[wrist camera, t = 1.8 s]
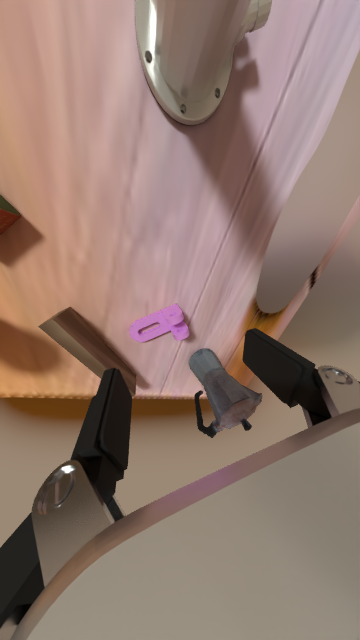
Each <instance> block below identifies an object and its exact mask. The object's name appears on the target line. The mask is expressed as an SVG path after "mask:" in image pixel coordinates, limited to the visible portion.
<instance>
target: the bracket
mask: <svg viewBox="0 0 360 640" xmlns="http://www.w3.org/2000/svg"><path fill="white" fill-rule="evenodd" d="M183 319H184V316H183V313H182V311H181V309H180V308H179V307H178V305H177V304H174V305H171V306H169V307H167V308H164V309H162V310H160V311H157V312H155V313H153V314H150V315H148V316H146V317H143V318H141V319H139V320H136V321H135V322H133V323H132V324H131V326H130V336H131V338H132V339H133V340H135V341H138V342H145V341H148V340H150V339H152V338H154V337H157V336H159V335H161V334H163V333H166V332H168V331H172V334H173V336H174V338H175V339H176V340H183V339H185V338H187V337H188V336H189V334H190V332H189V329H188V327H187V325H186V324H185V322H184V320H183ZM155 322H158V323H160V324H159V326H157V327H155V328H153V329H151V330H148V331H146V332H144V333H140V332H139V331H138V330H139V329H141V328H144V327H146V326H148V325H151V324H153V323H155Z"/></svg>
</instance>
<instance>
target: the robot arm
mask: <svg viewBox="0 0 360 640" xmlns="http://www.w3.org/2000/svg"><path fill="white" fill-rule="evenodd" d="M271 3H272V0H135V26H136V39H137V45H138V51H139V56H140V60H141V64H142V67H143V71H144V74H145V76H146V79H147V81H148V84H149V86H150V89H151V90H152V92H153V94H154V96H155V98H156V100H157V101H158V102H159V104H160V105H161V107H162V108H163V109H164V110H165V111H166V112H167V113H168V114H169V115H170V116H171V117H172V118H173V119H175V120H176V121H178V122H180V123H183V124H186V125H197V124H200V123H202V122H204V121H205V120H207V119H208V118H209V117H210V116H211V115H212V114H213V113H214V112H215V110H216V108H217V107H218V105H219V104H220V101H221V99H222V97H223V95H224V93H225V91H226V88H227V85H228V82H229V78H230V73H231V68H232V60H233V51H234V48H235V46H236V44H237V43H239V42H241V41H242V39H243V38H244V35H245V33H247V32H253V31H255V30H257V29H259V28H262V27H263V26H264V25H265V24H266V22H267V20H268V16H269V13H270V9H271ZM243 362H244V363H245V364H246V365H247V366H248V367H249V368H250V369H251V371H252V372H253V373H254V374H255V375H256V376H258V377H259V379H260V380H261V381H262V382H263V383H264V384H265V385H266V386H267V387H268V388H269V389H270V390H271V391H272V392H273V393H274V394H275V395H276V396H277V397H278V398H279V399H280V400H281V401H282V402H283V403H286V404H287V405H288V406H289V407H290V408H291V407H294V406H296V405H298V404H300V405H301V406H302V409H303V412H304V415H305V419H306V422H307V425H308V429H306V430H304V431H301V432H299V433H297V434H295V435H293V436H291V437H288V438H286V439H284V440H282V441H280V442H278V443H276V444H273V445H271V446H269V447H267V448H265V449H263V450H261V451H259V452H256V453H254V454H252V455H250V456H248V457H246V458H243V459H241V460H239V461H237V462H235V463H233V464H231V465H228V466H227V467H224V468H222V469H220V470H218V471H216V472H214V473H212V474H210V475H207V476H206V477H203V478H201V479H199V480H197V481H195V482H193V483H191V484H189V485H186V486H184V487H182V488H180V489H178V490H176V491H174V492H172V493H170V494H168V495H166V496H164V497H162V498H160V499H158V500H156V501H154V502H152V503H150V504H148V505H146V506H144V507H142V508H140V509H138V510H136V511H134V512H132V513H130V514H129V515H127V516H126V514H125V513H124V511H123V510H122V508H121V506H120V504H119V503H118V501H117V499H116V497H115V496H114V493H115V488H116V481H119V480H121V479H123V477H124V470H126V469H127V466H128V454H129V439H130V423H131V408H132V396H131V393H130V391H129V389H128V387H127V385H126V383H125V380H124V378H123V376H122V374H121V372H120V370H119V369H116V368H111V369H107V370H105V371H104V373H103V376H102V379H101V382H100V385H99V388H98V391H97V394H96V396H94V397H93V398H92V400H91V403H90V405H89V408H88V411H87V414H86V417H85V420H84V423H83V425H82V428H81V431H80V434H79V437H78V440H77V443H76V445H75V448H74V451H73V454H72V457H71V460H69V461H66V462H64V463H63V464H61V465H60V466H58V467H57V468H56V469H55V470H54V471H53V472H52V473H51V474H50V475H49V476H48V477H47V479H46V480H45V481H44V483H43V484H42V486H41V487H40V489H39V491H38V493H37V495H36V497H35V499H34V503H33V506H32V512H31V513H30V514H29V515H28V517H27V518H26V519H25V520H24V521H23V522H22V524H21V525H20V526H19V527H18V528H17V529H16V530H15V532H14V533H13V534H12V535H11V536H10V537H9V538H8V540H7V541H6V542H5V543H4V544H3V545H2V547H1V548H0V640H360V382H359V381H357V380H356V379H355V378H354V377H353V376H352V375H351V374H349V373H348V372H345V371H344V370H342V369H339V368H337V367H333V366H326V365H325V366H320V367H318V370H317V369H315V368H314V367H315V364H314V363H312V362H310V361H309V360H307V359H306V358H304V357H302V356H301V355H299V354H297V353H296V352H294V351H293V350H291V349H289V348H287V347H286V346H284V345H283V344H281V343H279V342H278V341H276V340H275V339H273V338H271V337H270V336H268V335H266V334H265V333H263V332H261V331H260V330H258V329H256V328H254V329H250V330H248V331H247V333H246V334H245V342H244V351H243Z"/></svg>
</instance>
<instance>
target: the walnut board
mask: <svg viewBox="0 0 360 640" xmlns="http://www.w3.org/2000/svg"><path fill="white" fill-rule="evenodd" d="M38 327H39V328H41V329H42V330H43V331H44V332H45V333H47V334H48V335H49V336H50V337H51V338H53V339H54V340H55V341H56V342H57V343H59V344H60V345H61V346H62V347H63V348H65V349H66V350H67V351H68V352H69V353H71V354H72V355H73V356H74V357H75V358H77V359H78V360H79V361H80V362H81V363H83V364H84V365H85V366H86V367H88V368H89V369H90V370H91V371H92V372H94V373H95V374H96V375H97V376H98V377H100V378H101V379H102V376H103V373H104V371H105V370H107V369H111V368H116V369H119V370H120V372H121V374H122V376H123V378H124V380H125V383H126V385H127V387H128V389H129V391H130V393H131V396H134V395H135V392H136V375H135V374H134V373H133V372H132V371H131V370H130V369H129V368H128V367H127V366H126V365H125V364H124V363H123V362H122V360H121V359H120V358H119V357H118V356H117V355H116V354H115V353H114V352H113V351H112V350H111V349H110V348H109V347H108V346H107V345H106V344H105V343H104V342H103V341H102V340H101V338H100V337H99V336H98V335H97V334H96V333H95V332H94V331H93V330H92V329H91V328H90V327H89V326H88V325H87V324H86V323H85V322H84V321H83V320H82V319H81V318H80V317H79V315H78V314H77V313H76V312H75V311H74V310H73V309H72V308H71V307H69V308H67V309H65V310H63V311H61V312H59V313H57V314H56V315H54V316H53V317H51V318H50V319H48V320H47V321H45V322H44V323H43V324H41V325H40V326H38Z"/></svg>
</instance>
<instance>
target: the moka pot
mask: <svg viewBox="0 0 360 640" xmlns="http://www.w3.org/2000/svg"><path fill="white" fill-rule="evenodd" d="M189 366H190V369H191V370H192V372H193V373H194V374H195V376H196V377H197V378H198V380H199V381H200V382H201V383H202V385H203V386H204V389H205V391H206V395H207V397H208V400H209V402H210V405H211V407H212V410H213V412H214V415H215V418H216V420H214V421H213V422H212V423H211V425H210V426H209V427H205V426H204V425H203V419H202V416H201V415H202V414H201V408H200V404H199V396H200V395H202V394H203V391H201V390H200V391H199V392H197V393H196V394H195V404H196V415H197V426H198V429H199V430H200V431H202V432H203V433H204V434H207V435H208V436H210V437H211V438H213V437H214V435H216V433H217V432H220V431H222V430H223V429H224V428H228V429H230V428H232V427H235V426H237V425H239V424H241V423H242V425H243V427H244V429H245V430H246V431H247V430H250V429H251V427H252V426H251V424H250V423H249V422H248V421H247V419H248V418H249V417H250V416H251V415H252V414H253V413H254V412H255V410H256V407H257V406H258V405H259V404H260V403H261V399H262V393H260V394H259V393H256V392H254V391H252V390H250V389H248V388H247V387H245V386H243V385H241V384H240V383H239V382H238V381H236V380H235V379H234V378H233V377H232V376H230V375H229V374H228V373H227V372H226V371H225V369H224V368H223V366H222V365H221V363H220V361H219V360H218V358H217V357H216V355H215V354H214V352H213V351H211V350H210V349H201V350H199V351H197V352H196V353H194V354H193V355H192V357H191V358H190V361H189Z"/></svg>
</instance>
